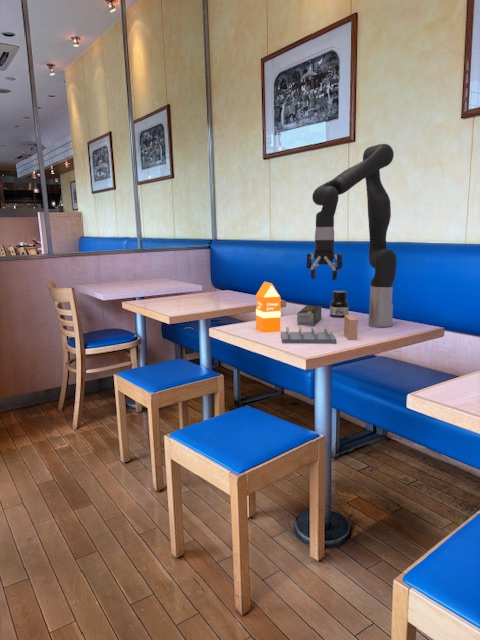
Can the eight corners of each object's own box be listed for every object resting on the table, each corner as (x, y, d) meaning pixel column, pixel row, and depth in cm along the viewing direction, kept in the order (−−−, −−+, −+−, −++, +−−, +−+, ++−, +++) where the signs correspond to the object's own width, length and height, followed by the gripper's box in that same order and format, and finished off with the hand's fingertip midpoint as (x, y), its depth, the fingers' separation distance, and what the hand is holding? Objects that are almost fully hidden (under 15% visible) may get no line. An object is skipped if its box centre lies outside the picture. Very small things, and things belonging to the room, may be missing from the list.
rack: (331, 335, 191) (331, 327, 190) (336, 343, 178) (336, 334, 178) (280, 335, 192) (281, 326, 191) (282, 343, 179) (282, 334, 178)
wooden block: (351, 334, 193) (352, 315, 192) (356, 340, 183) (357, 319, 182) (343, 334, 193) (344, 315, 192) (348, 340, 183) (349, 319, 182)
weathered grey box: (296, 325, 212) (296, 311, 210) (305, 318, 229) (305, 304, 228) (314, 326, 209) (314, 312, 208) (321, 319, 227) (322, 305, 226)
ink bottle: (327, 317, 229) (328, 292, 227) (329, 314, 238) (330, 290, 235) (348, 318, 227) (349, 293, 225) (349, 315, 235) (350, 290, 233)
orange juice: (272, 327, 208) (272, 281, 204) (280, 331, 199) (281, 283, 196) (255, 328, 205) (255, 281, 201) (263, 332, 197) (263, 284, 193)
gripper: (345, 238, 189) (344, 279, 192) (311, 238, 196) (310, 278, 200) (338, 239, 183) (337, 281, 186) (304, 239, 190) (303, 279, 193)
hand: (323, 279), depth 193 cm, fingers open, 8 cm apart
